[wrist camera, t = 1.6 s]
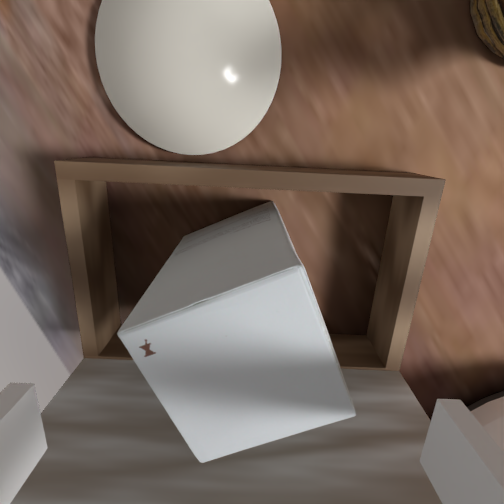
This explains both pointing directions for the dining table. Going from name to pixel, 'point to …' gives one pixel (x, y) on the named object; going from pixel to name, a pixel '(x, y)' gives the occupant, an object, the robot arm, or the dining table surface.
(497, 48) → the wooden mug
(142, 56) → the saucer
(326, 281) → the dining table surface
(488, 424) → the pot
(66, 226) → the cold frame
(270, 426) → the supplement box
